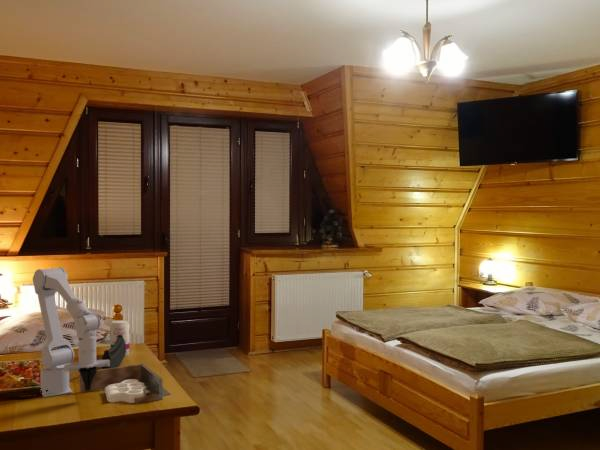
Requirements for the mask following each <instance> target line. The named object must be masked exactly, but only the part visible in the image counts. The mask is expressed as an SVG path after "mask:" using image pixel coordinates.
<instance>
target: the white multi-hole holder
mask: <svg viewBox="0 0 600 450" xmlns="http://www.w3.org/2000/svg"><path fill="white" fill-rule="evenodd" d="M104 392H105V396H106V400H107V402H109V403H116V402H126V403H128V404H135V397H141V396H147V395H148V394H149V393H151V392H150V391H149V390H148V389H147V386H145V384H144V383H142V382H139V380H136V379H130V380H125V381H122V382H121V383H117V384H111V385H108V386H107V387H105V389H104Z"/></svg>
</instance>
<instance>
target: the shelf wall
mask: <svg viewBox="0 0 600 450" xmlns="http://www.w3.org/2000/svg"><path fill="white" fill-rule="evenodd" d="M140 364H141V363H139V364H130V365H124V366H123V365H122V366H119V367H115V368H108V369H101V368H100V369H97V372H96V374H95V376H94V378H93V380H92V384H91V388H90V390H87V391H86V390H85V387H84V382H83V379H82V377H81V374H80V373H79V393H80V394H81V393H88V392H89V393H90V392H93V391H94V392H95V391H101V390H105V387H107V386H108V385H111V384H117V383H121V382H122V381H125V380H130V379H136V380H139V382H141V365H140ZM154 401H159V394H146V396H141V397H135V403H134V404H136V405H138V404H143V403H149V402H154Z"/></svg>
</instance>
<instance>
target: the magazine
mask: <svg viewBox="0 0 600 450" xmlns="http://www.w3.org/2000/svg"><path fill="white" fill-rule="evenodd" d="M125 354H126V344H125V340H124V339H123V335H118V338H117V340H116V342H115V344H114V345H113V346H112V347H111V348H109V349H105V350H104V351H103V354H102V356H101V360H108V359H109V360H110V366H103V367H100V370H101V369H108V368H115V367H121V364H122V363H123V360H124V358H125V357H126V356H125ZM124 356H125V357H124Z"/></svg>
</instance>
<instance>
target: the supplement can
mask: <svg viewBox="0 0 600 450" xmlns="http://www.w3.org/2000/svg"><path fill="white" fill-rule="evenodd" d="M130 328H131V327H130V323H129V320H127V319H125V320H124V319H118V320H113V321H111V323H110V325H109V335H110V336H109V347H110V348H111V347H112V346H113V345H114V344H115V342H116V340H117V338H118V335H123V339H124V340H125V344H126V354H125V356H124V358H125V357H127V356H129V355H130V353H131V351H130V349H131V347H130V345H131V344H130V343H131V342H130V341H131V340H130V339H131V338H130V335H131V334H130V332H131V331H130V330H131V329H130ZM110 348H109V349H110Z"/></svg>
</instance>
